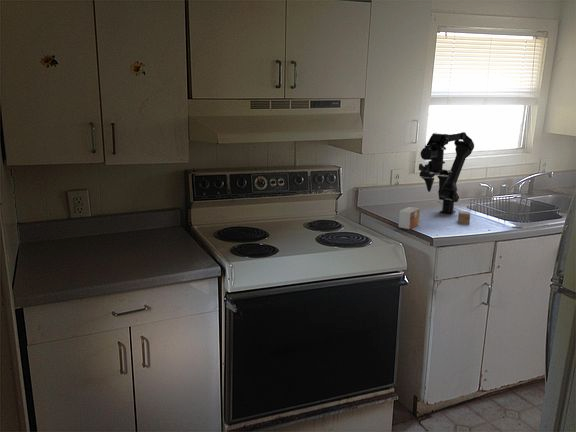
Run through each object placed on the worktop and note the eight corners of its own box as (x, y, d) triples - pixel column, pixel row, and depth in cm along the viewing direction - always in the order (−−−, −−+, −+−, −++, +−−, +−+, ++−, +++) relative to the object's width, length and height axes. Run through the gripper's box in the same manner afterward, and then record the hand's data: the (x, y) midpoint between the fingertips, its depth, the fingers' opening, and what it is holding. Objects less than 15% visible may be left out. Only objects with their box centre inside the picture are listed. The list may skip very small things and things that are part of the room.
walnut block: (457, 221, 262) (458, 210, 261) (468, 221, 261) (469, 211, 259) (458, 223, 257) (459, 213, 256) (469, 224, 256) (470, 214, 255)
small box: (418, 224, 253) (409, 229, 244) (407, 222, 256) (398, 227, 248) (420, 208, 251) (410, 212, 242) (408, 206, 254) (399, 210, 246)
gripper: (434, 157, 274) (432, 187, 277) (411, 158, 263) (409, 190, 266) (453, 159, 266) (451, 190, 269) (430, 160, 254) (428, 193, 257)
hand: (434, 190), depth 265 cm, fingers open, 9 cm apart
